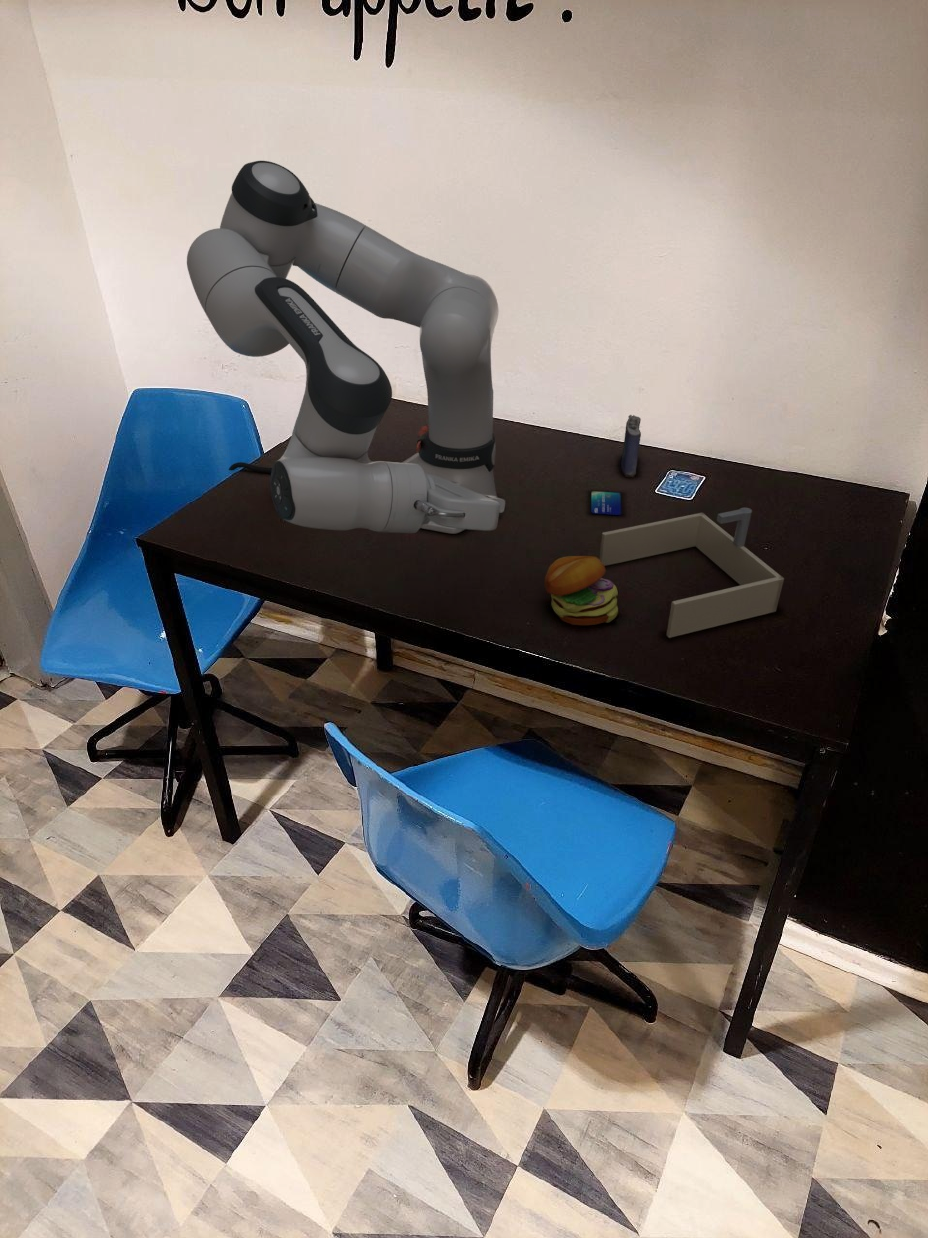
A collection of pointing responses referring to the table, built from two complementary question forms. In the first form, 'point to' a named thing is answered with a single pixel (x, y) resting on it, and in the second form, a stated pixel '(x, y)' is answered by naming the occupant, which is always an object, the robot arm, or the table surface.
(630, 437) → the flask
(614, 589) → the cheeseburger
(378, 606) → the table surface
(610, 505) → the credit card
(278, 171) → the robot arm
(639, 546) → the grey u-shaped wall
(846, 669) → the table surface
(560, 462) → the table surface
